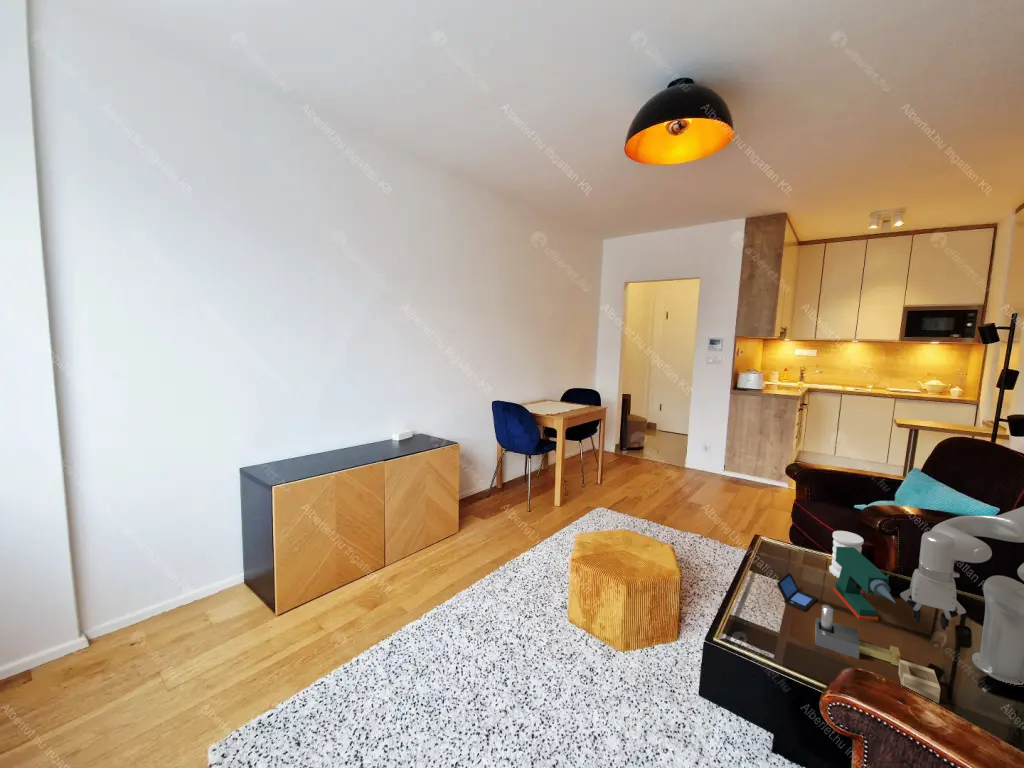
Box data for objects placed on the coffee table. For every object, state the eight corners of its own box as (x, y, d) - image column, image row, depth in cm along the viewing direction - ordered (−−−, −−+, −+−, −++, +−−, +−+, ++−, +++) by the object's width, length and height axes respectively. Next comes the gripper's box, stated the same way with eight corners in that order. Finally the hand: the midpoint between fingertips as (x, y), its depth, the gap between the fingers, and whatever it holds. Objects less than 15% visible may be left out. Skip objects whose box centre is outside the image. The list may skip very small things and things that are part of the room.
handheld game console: (804, 613, 166) (805, 596, 165) (775, 599, 175) (776, 582, 174) (817, 600, 173) (818, 583, 172) (788, 587, 182) (789, 571, 181)
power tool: (904, 647, 147) (909, 595, 144) (881, 645, 148) (886, 594, 145) (851, 590, 178) (854, 546, 175) (832, 589, 179) (835, 545, 176)
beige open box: (932, 683, 132) (933, 669, 132) (938, 703, 126) (940, 688, 125) (898, 672, 137) (899, 659, 136) (902, 690, 131) (904, 676, 130)
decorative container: (842, 582, 183) (845, 544, 181) (822, 567, 195) (825, 530, 192) (868, 581, 183) (871, 542, 181) (847, 565, 195) (850, 529, 192)
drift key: (897, 658, 142) (898, 647, 142) (899, 666, 139) (900, 655, 138) (852, 644, 149) (852, 634, 149) (852, 651, 146) (853, 641, 145)
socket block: (856, 642, 150) (857, 629, 150) (858, 658, 143) (859, 645, 142) (815, 629, 157) (815, 617, 157) (815, 644, 150) (816, 632, 149)
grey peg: (830, 639, 152) (833, 606, 150) (831, 644, 150) (833, 611, 148) (819, 635, 154) (822, 603, 152) (820, 641, 152) (822, 608, 150)
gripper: (970, 574, 130) (964, 626, 133) (896, 558, 140) (892, 607, 142) (978, 587, 124) (971, 642, 127) (900, 569, 134) (895, 621, 136)
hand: (929, 623), depth 135 cm, fingers open, 5 cm apart
